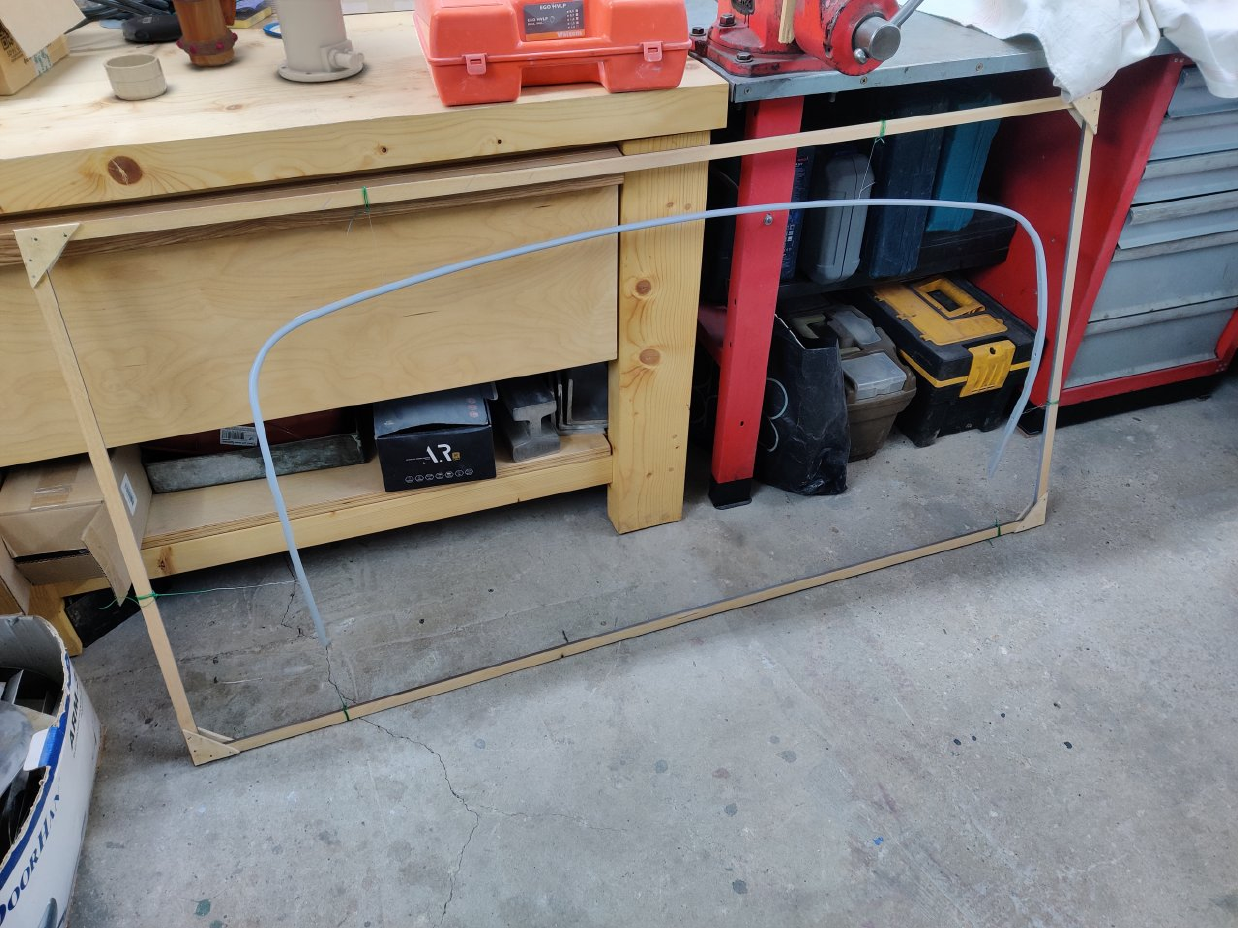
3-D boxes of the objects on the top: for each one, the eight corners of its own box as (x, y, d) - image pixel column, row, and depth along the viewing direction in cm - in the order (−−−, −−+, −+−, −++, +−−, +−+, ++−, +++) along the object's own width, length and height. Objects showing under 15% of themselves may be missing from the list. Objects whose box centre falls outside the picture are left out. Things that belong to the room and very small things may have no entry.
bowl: (178, 90, 130) (168, 58, 127) (134, 104, 125) (123, 70, 123) (148, 82, 133) (138, 51, 130) (104, 95, 128) (93, 62, 126)
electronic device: (216, 34, 160) (124, 28, 155) (212, 1, 156) (117, -5, 151) (218, 54, 154) (122, 50, 149) (213, 21, 150) (114, 15, 145)
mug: (220, 73, 137) (190, -36, 127) (173, 70, 138) (140, -39, 128) (267, 48, 148) (243, -55, 138) (223, 45, 149) (196, -56, 140)
